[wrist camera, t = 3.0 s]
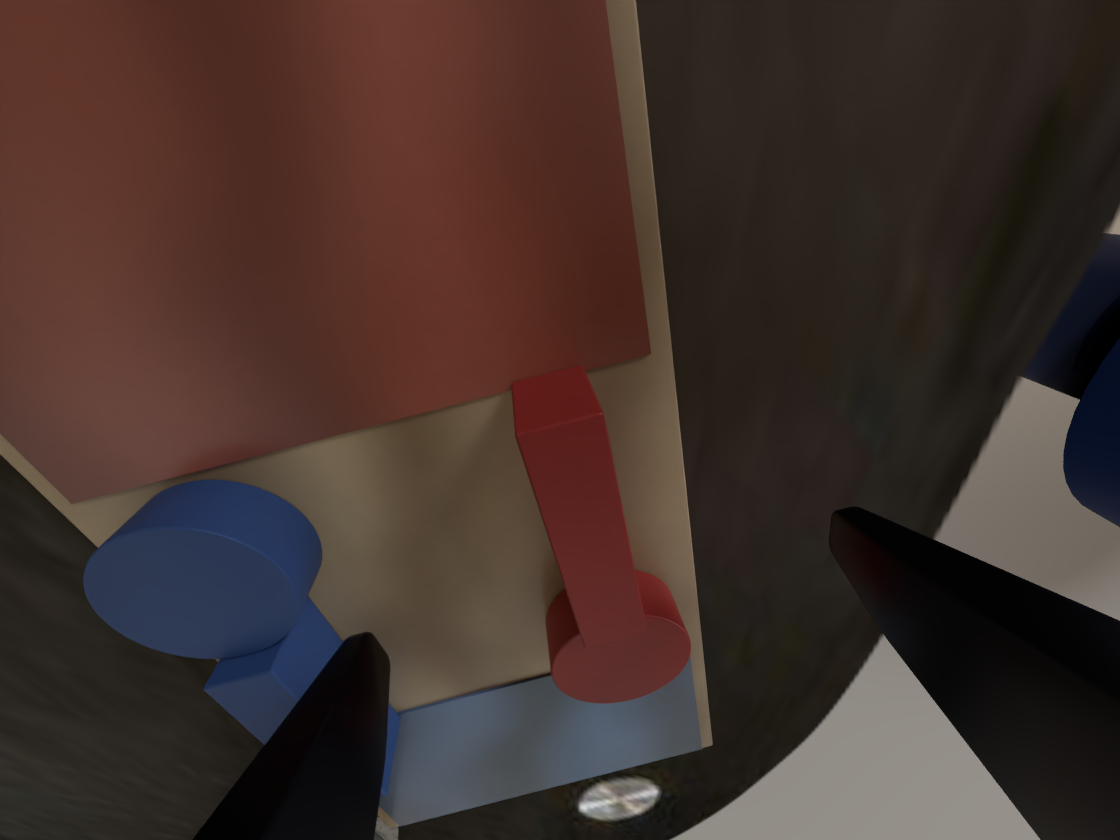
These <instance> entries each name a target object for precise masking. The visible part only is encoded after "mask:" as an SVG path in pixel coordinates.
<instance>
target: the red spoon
mask: <svg viewBox="0 0 1120 840" xmlns="http://www.w3.org/2000/svg"><path fill="white" fill-rule="evenodd" d="M511 389H512V402H513V416H514V429H515V438H516V441H517V444H518V447H519V450H520V453H521V456H522V459H523V462H524V465H525V468H526V471H527V474H528V478H529V481H530V484H531V487H532V490H533V493H534V496H535V499H536V502H537V505H538V508H539V511H540V514H541V517H542V520H543V523H544V526H545V529H546V532H547V535H548V538H549V541H550V545H551V548H552V551H553V554H554V557H555V560H556V563H557V566H558V569H559V572H560V575H561V578H562V581H563V584H564V587H565V589H564V590H563V591H561V592H560V593H559V594H558V595H557V596H556V598H555V599H554V600H553V602H552V603H551V605H550V607H549V609H548V612H547V615H546V621H545V622H546V633H547V642H548V651H549V661H550V670H551V676H552V679H553V681H554V683H555V685H556V686H557V687H558V688H559V689H560V690H561V691H562V692H563V693H564V694H566V695H568V696H569V697H572V698H574V699H576V700H580V701H583V702H589V703H603V704H607V703H618V702H624V701H629V700H633V699H636V698H640V697H643V696H645V695H648V694H650V693H652V692H654V691H656V690H658V689H660V688H662V687H664V686H665V685H666V684H668V683H669V682H671V681H672V680H673V679H674V678H676V677H677V676H678V675H679V674H680V672H681V671H682V670H683V669H684V667H685V666H686V664H687V662H688V660H689V658H690V654H691V641H690V637H689V635H688V632H687V630H686V627H685V625H684V623H683V620H682V618H681V615H680V613H679V610H678V608H677V606H676V603H675V601H674V598H673V596H672V594H671V591H670V589H669V588H668V587H667V585H666V584H665V583H663V582H662V581H661V580H660V579H658V578H657V577H655V576H653V575H651V574H649V573H646V572H643V571H638V570H635V567H634V562H633V557H632V552H631V547H630V542H629V537H628V532H627V527H626V522H625V517H624V511H623V506H622V501H621V496H620V491H619V486H618V481H617V476H616V471H615V466H614V461H613V456H612V451H611V446H610V441H609V436H608V431H607V426H606V421H605V416H604V412H603V410H602V408H601V406H600V403H599V401H598V399H597V396H596V394H595V392H594V390H593V387H592V385H591V383H590V380H589V378H588V376H587V373H586V371H585V369H584V367H583V366H582V365H579V366H575V367H571V368H567V369H563V370H559V371H556V372H552V373H548V374H544V375H540V376H536V377H532V378H529V379H525V380H521V381H517V382H513V383H512V385H511Z"/></svg>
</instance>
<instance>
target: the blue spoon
mask: <svg viewBox="0 0 1120 840" xmlns="http://www.w3.org/2000/svg"><path fill="white" fill-rule="evenodd" d="M321 562H322V547H321V542H320V539H319V536H318V534H317V532H316V530H315V529H314V527H313V525H312V524H311V523H310V521H309V520H308V519H307V518H306V517H305V516H304V515H303V514H302V513H301V512H300V511H299V510H298V509H297V508H295V507H294V506H293V505H292V504H290V503H289V502H287V501H285V500H284V499H282V498H281V497H279V496H277V495H275V494H273V493H271V492H268V491H266V490H263V489H261V488H258V487H255V486H251V485H248V484H244V483H239V482H234V481H225V480H198V481H191V482H186V483H181V484H178V485H175V486H172V487H169V488H167V489H165V490H163V491H161V492H159V493H158V494H156V495H155V496H154V497H152V498H151V499H150V500H149V501H148V502H147V503H146V504H145V505H144V506H142V507H141V508H140V509H139V510H138V511H137V512H136V513H135V514H134V515H133V516H132V517H131V518H130V519H129V520H127V521H126V522H125V523H124V524H123V525H122V526H121V527H120V528H119V529H118V530H117V531H116V532H115V533H114V534H112V535H111V536H110V537H109V538H108V539H107V540H106V541H105V542H104V543H103V544H102V545H101V546H100V547H99V548H98V549H97V550H96V551H95V552H94V553H93V554H92V555H91V557H90V558H89V560H88V561H87V564H86V567H85V569H84V573H83V587H84V592H85V595H86V598H87V600H88V601H89V603H90V605H91V607H92V608H93V609H94V611H95V612H96V613H97V614H98V616H99V617H100V618H101V619H102V620H103V621H104V622H106V623H107V624H108V625H109V626H110V627H112V628H113V629H114V630H116V631H117V632H119V633H120V634H122V635H124V636H125V637H127V638H129V639H131V640H133V641H135V642H137V643H139V644H141V645H144V646H146V647H149V648H152V649H155V650H158V651H161V652H164V653H168V654H172V655H177V656H183V657H189V658H199V659H220V660H219V662H218V663H217V665H216V667H215V669H214V670H213V672H212V674H211V676H210V677H209V679H208V681H207V683H206V684H205V686H204V691H205V692H206V693H207V694H208V695H210V696H211V697H212V698H213V699H214V700H215V701H216V702H217V703H218V704H220V705H221V706H222V707H223V708H224V709H225V710H226V711H227V712H228V713H229V714H231V715H232V716H233V717H234V718H235V719H236V720H237V721H238V722H239V723H241V724H242V725H243V726H244V727H245V728H246V729H247V730H248V731H249V732H250V733H252V734H253V735H254V736H255V737H256V738H257V739H258V740H259V741H260V742H262V743H263V744H264V745H265V744H266V743H267V741H268V740H269V739H270V737H271V736H272V735H273V733H274V732H275V731H276V729H277V728H278V727H279V725H280V724H281V723H282V722H283V720H284V719H285V718H286V716H287V715H288V714H289V712H290V711H291V710H292V708H293V707H294V706H295V704H296V703H297V702H298V701H299V699H300V698H301V697H302V695H303V694H304V693H305V691H306V690H307V689H308V687H309V686H310V685H311V683H312V682H313V681H314V680H315V678H316V677H317V676H318V674H319V673H320V672H321V670H322V669H323V668H324V666H325V665H326V664H327V662H328V661H329V660H330V658H331V657H332V656H333V655H334V653H335V652H336V651H337V649H338V648H339V647H340V645H341V644H342V643H343V641H342V640H341V638H340V637H339V636H338V634H337V633H336V632H335V630H334V629H333V628H332V626H331V625H330V624H329V623H328V621H327V620H326V619H325V617H324V616H323V615H322V613H321V612H320V611H319V609H318V608H317V607H316V605H315V604H314V603H313V601H312V600H311V599H310V597H309V596H308V594H309V592H310V589H311V587H312V585H313V583H314V581H315V578H316V576H317V574H318V572H319V569H320V567H321ZM400 720H401V718H400V716H399V715H398V714H397V712H396V711H395V710H394V708H393V707H392V706H391V704H390V703H389V711H388V732H387V748H386V759H385V767H384V775H383V781H382V788H381V795H380V798H381V797H385V796H387V793H388V787H389V782H390V776H391V770H392V765H393V759H394V754H395V748H396V742H397V737H398V731H399V726H400Z"/></svg>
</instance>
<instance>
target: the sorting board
mask: <svg viewBox="0 0 1120 840" xmlns="http://www.w3.org/2000/svg"><path fill="white" fill-rule="evenodd" d="M579 365H582V366H583V367H584V369H585V371H586V373H587V376H588V378H589V380H590V383H591V385H592V387H593V390H594V392H595V394H596V396H597V399H598V401H599V403H600V406H601V408H602V410H603V412H604V416H605V421H606V426H607V431H608V436H609V441H610V446H611V451H612V456H613V461H614V466H615V471H616V476H617V481H618V486H619V491H620V496H621V501H622V506H623V511H624V517H625V522H626V527H627V532H628V537H629V542H630V547H631V552H632V557H633V562H634V567H635V570H638V571H643V572H646V573H649V574H651V575H653V576H655V577H657V578H658V579H660V580H661V581H662V582H663V583H665V584H666V585H667V587H668V588H669V589H670V591H671V594H672V596H673V598H674V601H675V603H676V606H677V608H678V610H679V613H680V615H681V618H682V620H683V623H684V625H685V627H686V630H687V632H688V635H689V637H690V641H691V654H690V658H689V660H688V662H687V664H686V666H685V667H684V669H683V670H682V671H681V672H680V674H679V675H678V676H677V677H676V678H674V679H673V680H672V681H671V682H669V683H668V684H666V685H665V686H664V687H662V688H660V689H658V690H656V691H654V692H652V693H650V694H648V695H645V696H643V697H640V698H636V699H633V700H629V701H624V702H618V703H607V704H603V703H589V702H583V701H580V700H576V699H574V698H572V697H569V696H568V695H566V694H564V693H563V692H562V691H561V690H560V689H559V688H558V687H557V686H556V685H555V683H554V681H553V679H552V676H551V670H550V661H549V651H548V642H547V633H546V622H545V621H546V615H547V612H548V609H549V607H550V605H551V603H552V602H553V600H554V599H555V598H556V596H557V595H558V594H559V593H560V592H561V591H563V590H564V589H565V587H564V584H563V581H562V578H561V575H560V572H559V569H558V566H557V563H556V560H555V557H554V554H553V551H552V548H551V545H550V541H549V538H548V535H547V532H546V529H545V526H544V523H543V520H542V517H541V514H540V511H539V508H538V505H537V502H536V499H535V496H534V493H533V490H532V487H531V484H530V481H529V478H528V474H527V471H526V468H525V465H524V462H523V459H522V456H521V453H520V450H519V447H518V444H517V441H516V438H515V429H514V416H513V402H512V389H511V385H512V383H513V382H517V381H521V380H525V379H529V378H532V377H536V376H540V375H544V374H548V373H552V372H556V371H559V370H563V369H567V368H571V367H575V366H579ZM0 455H1V456H2V457H4V458H5V459H6V460H7V461H8V462H9V463H10V464H11V465H12V466H13V467H14V468H15V469H16V470H17V471H18V472H19V473H20V474H21V475H22V476H23V477H24V478H25V479H27V480H28V481H29V482H30V483H31V484H32V485H33V486H34V487H35V488H36V489H37V490H38V491H39V492H40V493H41V494H42V495H43V496H44V497H45V498H46V499H47V500H49V501H50V502H51V503H52V504H53V505H54V506H55V507H56V508H57V509H58V510H59V511H60V512H61V513H62V514H63V515H64V516H65V517H66V518H67V519H68V520H69V521H70V522H72V523H73V524H74V525H75V526H76V527H77V528H78V529H79V530H80V531H81V532H82V533H83V534H84V535H85V536H86V537H87V538H88V539H89V540H90V541H91V542H92V543H94V544H95V545H96V546H97V547H98V548H99V547H100V546H101V545H102V544H103V543H104V542H105V541H106V540H107V539H108V538H109V537H110V536H111V535H112V534H114V533H115V532H116V531H117V530H118V529H119V528H120V527H121V526H122V525H123V524H124V523H125V522H126V521H127V520H129V519H130V518H131V517H132V516H133V515H134V514H135V513H136V512H137V511H138V510H139V509H140V508H141V507H142V506H144V505H145V504H146V503H147V502H148V501H149V500H150V499H151V498H152V497H154V496H155V495H156V494H158V493H159V492H161V491H163V490H165V489H167V488H169V487H172V486H175V485H178V484H181V483H186V482H191V481H198V480H225V481H234V482H239V483H244V484H248V485H251V486H255V487H258V488H261V489H263V490H266V491H268V492H271V493H273V494H275V495H277V496H279V497H281V498H282V499H284V500H285V501H287V502H289V503H290V504H292V505H293V506H294V507H295V508H297V509H298V510H299V511H300V512H301V513H302V514H303V515H304V516H305V517H306V518H307V519H308V520H309V521H310V523H311V524H312V525H313V527H314V529H315V530H316V532H317V534H318V536H319V539H320V542H321V547H322V562H321V567H320V569H319V572H318V574H317V576H316V578H315V581H314V583H313V585H312V587H311V589H310V592H309V594H308V596H309V597H310V599H311V600H312V601H313V603H314V604H315V605H316V607H317V608H318V609H319V611H320V612H321V613H322V615H323V616H324V617H325V619H326V620H327V621H328V623H329V624H330V625H331V626H332V628H333V629H334V630H335V632H336V633H337V634H338V636H339V637H340V638H341V640H342V641H344V640H345V639H346V638H347V637H349V636H351V635H355V634H359V633H363V632H368V631H369V632H371V633H373V634H374V636H375V637H376V639H377V640H378V641H379V643H380V644H381V646H382V647H383V649H384V650H385V651H386V653H387V654H388V656H389V659H390V666H391V670H390V690H389V703H390V704H391V706H392V707H393V708H394V710H395V711H396V712H397V714H398V715H399V716H400V718H401V720H400V726H399V731H398V737H397V742H396V748H395V754H394V759H393V765H392V770H391V776H390V782H389V787H388V793H387V796H385V797H381V798H380V802H379V809H378V816H379V817H380V818H381V819H382V820H383V821H384V822H385V823H387V824H388V825H389V826H390V827H395V826H404V825H408V824H411V823H415V822H419V821H423V820H427V819H431V818H435V817H439V816H443V815H447V814H450V813H454V812H458V811H462V810H466V809H470V808H474V807H478V806H482V805H486V804H489V803H493V802H497V801H501V800H505V799H509V798H513V797H517V796H521V795H525V794H528V793H532V792H536V791H540V790H544V789H548V788H552V787H556V786H560V785H564V784H567V783H571V782H575V781H579V780H583V779H587V778H591V777H595V776H599V775H603V774H606V773H610V772H614V771H618V770H622V769H626V768H630V767H634V766H638V765H642V764H645V763H649V762H653V761H657V760H661V759H665V758H669V757H673V756H677V755H681V754H684V753H688V752H692V751H696V750H700V749H702V748H703V747H707V746H711V745H713V743H712V734H711V724H710V714H709V705H708V695H707V685H706V676H705V666H704V656H703V646H702V637H701V627H700V617H699V608H698V598H697V588H696V579H695V569H694V559H693V550H692V540H691V530H690V521H689V511H688V501H687V491H686V482H685V472H684V462H683V453H682V443H681V433H680V424H679V414H678V404H677V395H676V385H675V375H674V365H673V356H672V346H671V336H670V327H669V317H668V307H667V298H666V288H665V278H664V269H663V259H662V249H661V240H660V230H659V220H658V210H657V201H656V191H655V181H654V172H653V162H652V152H651V143H650V133H649V123H648V114H647V104H646V94H645V85H644V75H643V65H642V55H641V46H640V36H639V26H638V17H637V7H636V0H0ZM215 660H216V661H217V662H219V660H220V659H215Z"/></svg>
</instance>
